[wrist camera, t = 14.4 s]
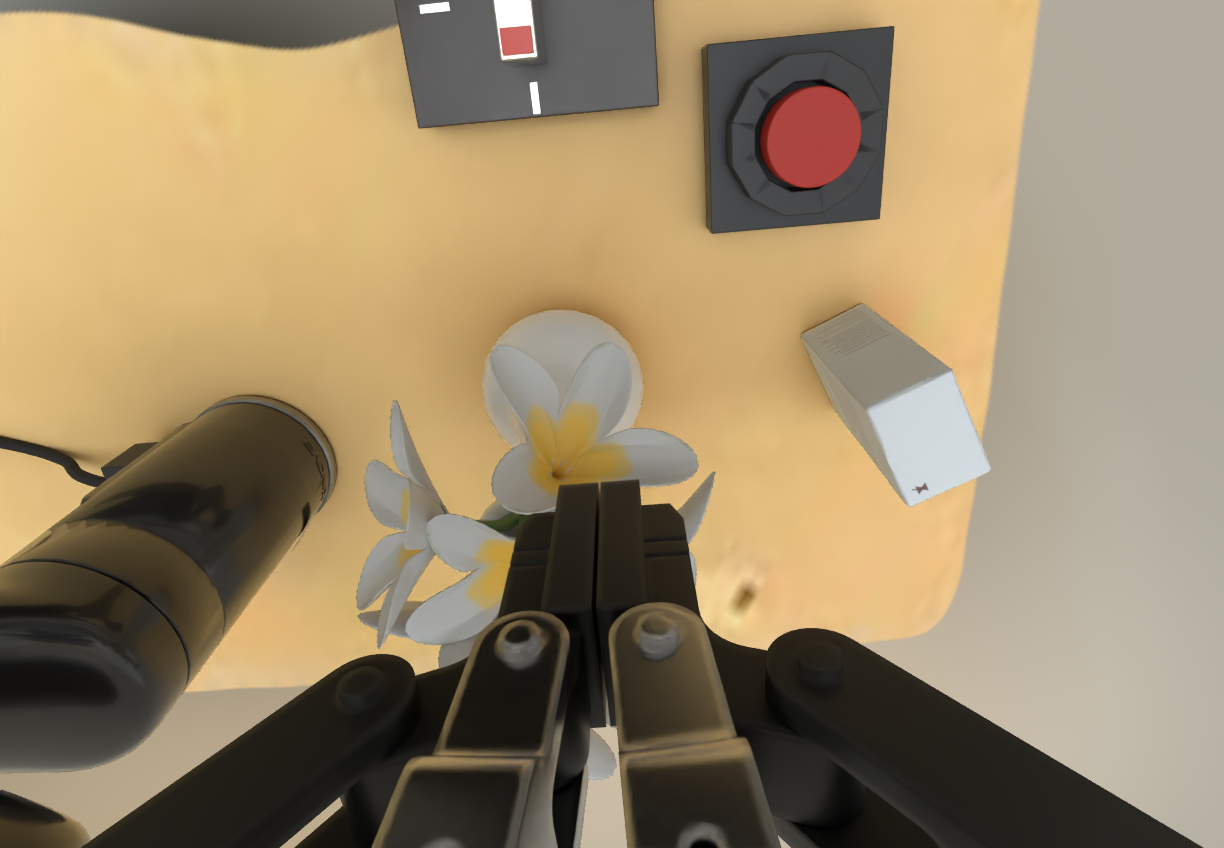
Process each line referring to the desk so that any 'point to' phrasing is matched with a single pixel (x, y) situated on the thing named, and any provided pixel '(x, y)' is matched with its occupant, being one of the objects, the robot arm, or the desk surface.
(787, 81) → the button box
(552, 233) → the desk surface
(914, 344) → the cosmetic box
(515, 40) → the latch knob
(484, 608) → the flower vase
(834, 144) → the button
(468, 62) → the rotary lever switch
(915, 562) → the desk surface
